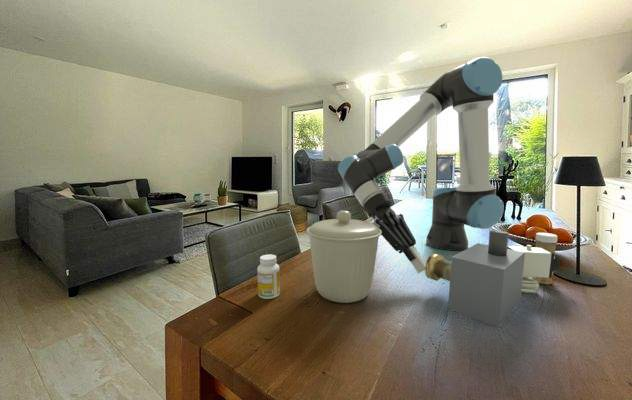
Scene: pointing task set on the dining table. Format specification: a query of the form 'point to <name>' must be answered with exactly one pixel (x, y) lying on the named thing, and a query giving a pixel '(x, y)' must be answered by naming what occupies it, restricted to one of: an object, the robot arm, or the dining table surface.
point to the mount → (486, 283)
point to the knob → (437, 267)
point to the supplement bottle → (268, 277)
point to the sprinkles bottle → (549, 244)
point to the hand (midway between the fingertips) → (423, 270)
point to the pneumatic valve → (536, 266)
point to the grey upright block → (498, 243)
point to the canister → (343, 257)
